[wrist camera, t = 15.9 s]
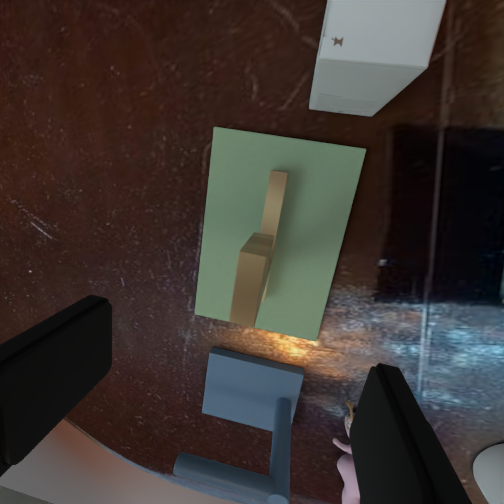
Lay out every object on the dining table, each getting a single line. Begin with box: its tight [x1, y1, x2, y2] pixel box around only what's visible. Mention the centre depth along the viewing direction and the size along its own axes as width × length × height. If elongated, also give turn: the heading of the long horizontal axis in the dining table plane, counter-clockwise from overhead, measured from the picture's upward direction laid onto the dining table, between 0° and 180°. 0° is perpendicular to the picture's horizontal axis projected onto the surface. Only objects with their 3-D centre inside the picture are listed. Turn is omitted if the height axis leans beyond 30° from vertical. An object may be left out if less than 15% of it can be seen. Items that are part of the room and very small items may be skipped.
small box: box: [309, 0, 447, 117], centre depth 17 cm, size 8×6×10 cm
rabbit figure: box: [333, 400, 360, 504], centre depth 30 cm, size 6×6×15 cm
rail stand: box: [173, 347, 304, 504], centre depth 27 cm, size 9×11×11 cm
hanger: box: [229, 170, 288, 327], centre depth 21 cm, size 13×2×12 cm, turn 171°
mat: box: [195, 127, 366, 341], centre depth 27 cm, size 20×14×1 cm
